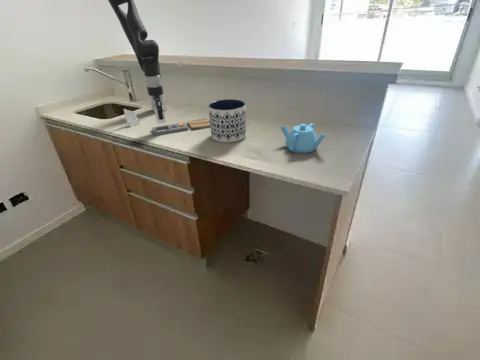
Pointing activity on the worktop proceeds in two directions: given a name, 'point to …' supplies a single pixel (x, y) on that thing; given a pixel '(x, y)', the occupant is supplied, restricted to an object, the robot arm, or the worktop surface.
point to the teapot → (302, 138)
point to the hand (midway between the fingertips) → (160, 117)
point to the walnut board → (199, 124)
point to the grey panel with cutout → (170, 128)
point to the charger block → (158, 116)
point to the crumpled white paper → (131, 118)
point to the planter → (227, 120)
